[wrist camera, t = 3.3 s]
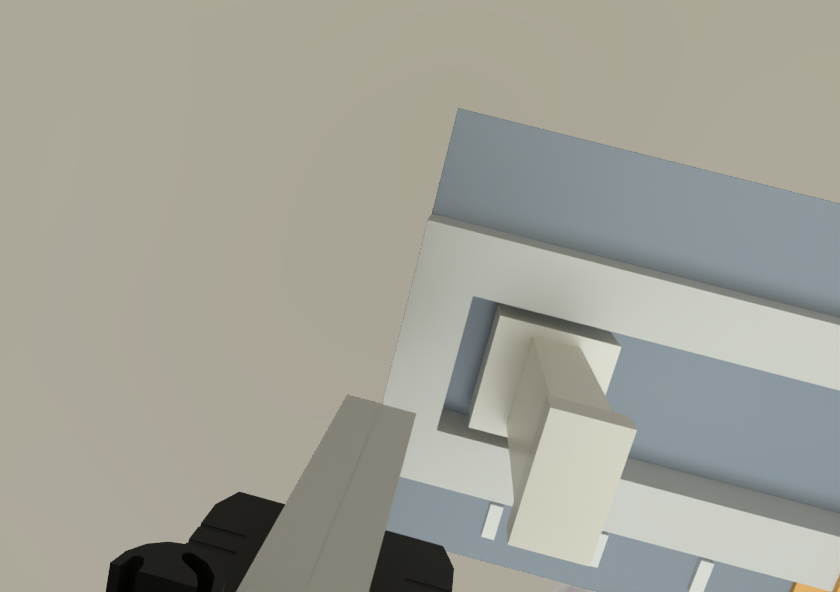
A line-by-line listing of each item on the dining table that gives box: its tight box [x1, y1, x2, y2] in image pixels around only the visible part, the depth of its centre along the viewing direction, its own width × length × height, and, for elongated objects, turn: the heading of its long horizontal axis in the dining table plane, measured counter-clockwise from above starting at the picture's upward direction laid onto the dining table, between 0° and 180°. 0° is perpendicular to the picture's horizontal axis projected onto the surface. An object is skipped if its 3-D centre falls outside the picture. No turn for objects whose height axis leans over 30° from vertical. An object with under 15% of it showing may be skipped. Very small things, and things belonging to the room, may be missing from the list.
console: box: [382, 108, 840, 592], centre depth 24 cm, size 16×24×4 cm, turn 76°
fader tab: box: [469, 303, 637, 567], centre depth 20 cm, size 4×4×8 cm
